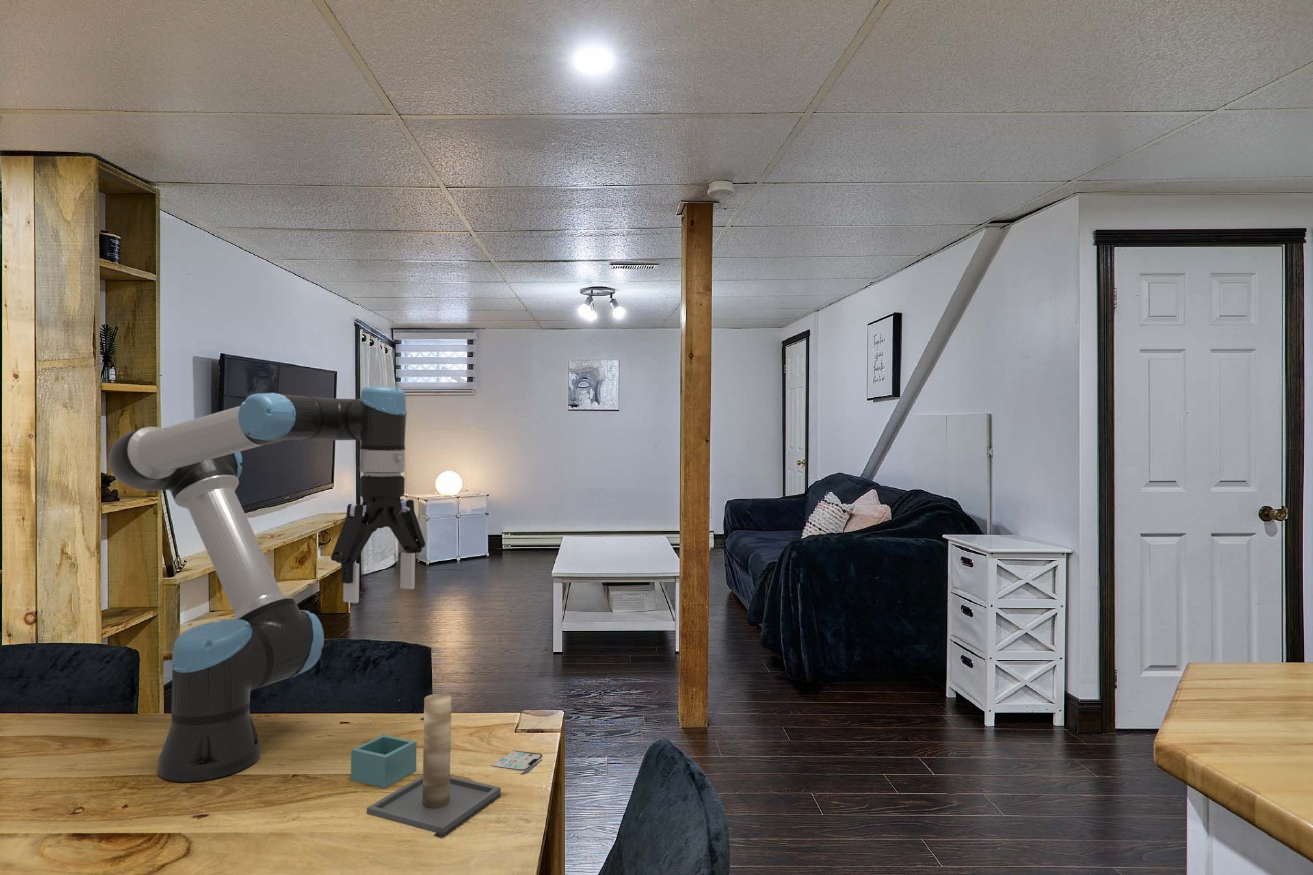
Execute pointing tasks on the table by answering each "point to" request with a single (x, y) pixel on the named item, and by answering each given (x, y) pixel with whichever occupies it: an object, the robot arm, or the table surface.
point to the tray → (443, 820)
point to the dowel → (436, 751)
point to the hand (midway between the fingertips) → (380, 595)
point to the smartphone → (519, 761)
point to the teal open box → (383, 761)
